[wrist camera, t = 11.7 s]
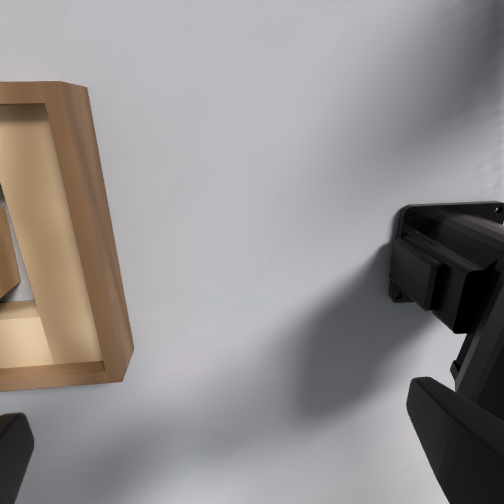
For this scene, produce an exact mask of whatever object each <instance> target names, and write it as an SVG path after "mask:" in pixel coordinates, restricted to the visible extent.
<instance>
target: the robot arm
mask: <svg viewBox="0 0 504 504" xmlns="http://www.w3.org/2000/svg"><path fill="white" fill-rule="evenodd" d="M497 207H498V210H497V211H496V212H495V210H496V208H497ZM410 211H412V212H413V213H412V215H411V216H409V217H408V213H409V212H410ZM503 222H504V203H502V202H499V201H485V202H462V203H438V204H415V205H406V206H405V207H404V208H403V209H402V210H401V213H400V220H399V226H398V233H397V239H396V240H395V242H394V246H393V253H392V259H391V266H390V273H389V278H390V279H391V280H390V287H389V293H388V295H389V298H390V299H391V300H392V301H393V302H395V303H404V302H416V303H417V304H418V305H419V306H420V307H421V308H422V309H423V310H424V311H426V312H432V313H433V314H434V315H435V316H436V317H437V318H438V319H439V320H441V321H442V322H443V323H444V324H445V325H446V326H447V327H448V328H449V329H450V330H452V331H453V332H454V333H455V334H464V333H466V334H467V335H466V338H465V340H464V343H463V345H462V347H461V350H460V352H459V355H458V357H457V359H456V360H454V361H453V363H452V365H451V368H450V371H451V374H452V376H453V378H454V381H455V392H454V391H453V390H451V389H449V388H448V387H446V386H444V385H443V384H441V383H439V382H438V381H436V380H434V379H433V378H431V377H418V378H413V379H412V380H411V383H410V387H409V392H408V397H407V403H406V406H407V412H408V415H409V417H410V419H411V422H412V424H413V426H414V428H415V431H416V433H417V435H418V438H419V440H420V442H421V445H422V447H423V449H424V452H425V454H426V456H427V459H428V461H429V463H430V466H431V468H432V470H433V472H434V474H435V477H436V479H437V481H438V483H439V485H440V486H441V488H442V490H443V492H444V494H445V496H446V498H447V500H448V501H449V503H450V504H504V225H503ZM397 293H399V295H398V296H396V297H395V295H396V294H397ZM33 449H34V436H33V434H32V431H31V428H30V425H29V422H28V420H27V417H26V415H25V414H24V413H21V412H19V413H8V414H3V415H1V416H0V504H15V501H16V498H17V495H18V492H19V489H20V487H21V484H22V481H23V478H24V475H25V472H26V469H27V467H28V464H29V461H30V458H31V455H32V452H33Z"/></svg>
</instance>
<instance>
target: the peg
mask: <svg viewBox="0 0 504 504" xmlns="http://www.w3.org/2000/svg"><path fill="white" fill-rule="evenodd" d="M20 281H21V280H20V276H19V271H18V266H17V262H16V257H15V253H14V248H13V244H12V239H11V235H10V230H9V225H8V221H7V216H6V212H5V207H4V206H0V298H1V297H2V296H3V295H5V294H6V293H7V292H8V291H10V290H11V289H12V288H13V287H14V286H16V285H17V284H18V283H19V282H20Z"/></svg>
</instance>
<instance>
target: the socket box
mask: <svg viewBox="0 0 504 504" xmlns="http://www.w3.org/2000/svg"><path fill="white" fill-rule="evenodd" d="M0 183H1V186H2V190H3V193H4V196H5V200H6V203H7V207H8V210H9V213H10V217H11V220H12V224H13V227H14V230H15V234H16V237H17V241H18V244H19V247H20V251H21V254H22V258H23V261H24V264H25V268H26V271H27V275H28V278H29V281H30V285H31V288H32V292H33V295H34V298H35V300H34V301H18V302H1V303H0V392H2V391H14V390H27V389H39V388H51V387H64V386H76V385H89V384H101V383H113V382H122V381H123V379H124V376H125V373H126V370H127V367H128V365H129V362H130V359H131V356H132V354H133V351H134V345H133V340H132V334H131V329H130V323H129V318H128V312H127V306H126V301H125V295H124V290H123V284H122V279H121V273H120V268H119V262H118V257H117V251H116V246H115V240H114V234H113V229H112V223H111V218H110V212H109V207H108V201H107V196H106V190H105V185H104V179H103V174H102V168H101V163H100V157H99V151H98V146H97V140H96V135H95V129H94V124H93V118H92V113H91V107H90V102H89V96H88V91H87V87H83V86H79V85H75V84H70V83H66V82H62V81H39V82H0Z"/></svg>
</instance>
